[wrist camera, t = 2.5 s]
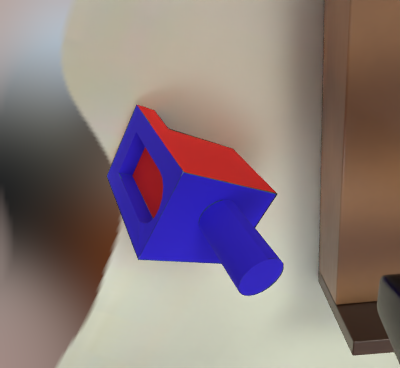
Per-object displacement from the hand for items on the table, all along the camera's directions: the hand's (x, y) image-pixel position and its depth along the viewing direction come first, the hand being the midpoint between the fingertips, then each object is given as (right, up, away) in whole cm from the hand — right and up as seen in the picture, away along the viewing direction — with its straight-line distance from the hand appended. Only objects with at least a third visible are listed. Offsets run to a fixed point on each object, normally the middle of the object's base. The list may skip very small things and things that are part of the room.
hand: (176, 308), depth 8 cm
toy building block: (0, +4, +8) cm, 9 cm away
